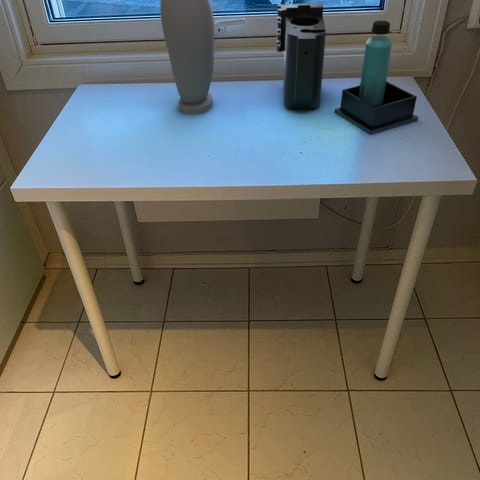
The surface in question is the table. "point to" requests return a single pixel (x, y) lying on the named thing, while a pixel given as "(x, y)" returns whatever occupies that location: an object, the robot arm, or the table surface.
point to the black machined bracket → (301, 53)
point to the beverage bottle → (375, 65)
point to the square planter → (378, 109)
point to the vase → (190, 50)
